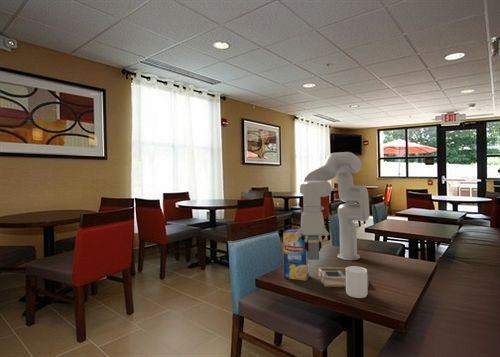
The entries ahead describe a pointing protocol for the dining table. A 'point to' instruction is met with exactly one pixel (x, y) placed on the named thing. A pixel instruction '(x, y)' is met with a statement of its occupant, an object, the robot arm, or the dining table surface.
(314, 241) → the block
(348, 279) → the mug
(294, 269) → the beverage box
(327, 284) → the box
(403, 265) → the dining table surface
